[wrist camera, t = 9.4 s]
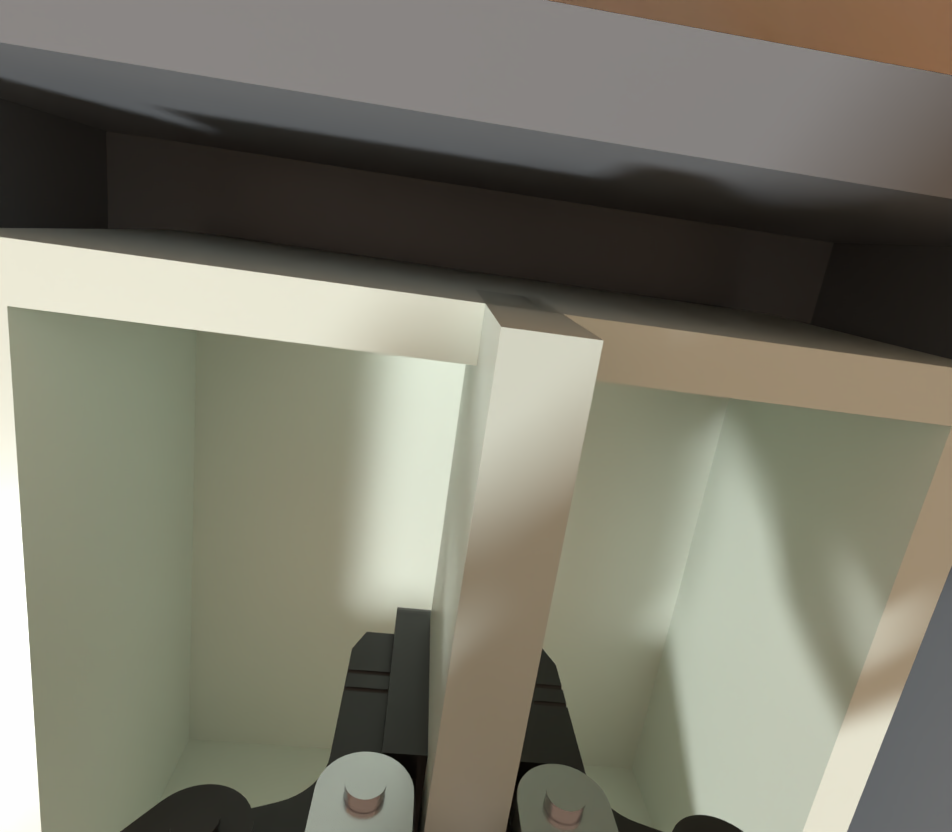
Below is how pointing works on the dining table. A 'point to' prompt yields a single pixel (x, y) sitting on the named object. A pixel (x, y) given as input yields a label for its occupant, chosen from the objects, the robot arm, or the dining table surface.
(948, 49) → the dining table surface
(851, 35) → the dining table surface
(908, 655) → the small crate
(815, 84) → the big crate
